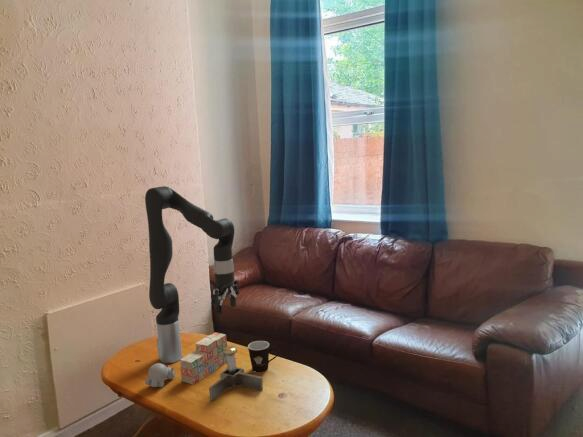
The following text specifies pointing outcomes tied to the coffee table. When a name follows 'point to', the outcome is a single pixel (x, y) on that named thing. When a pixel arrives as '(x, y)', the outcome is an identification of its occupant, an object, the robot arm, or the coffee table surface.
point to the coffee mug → (260, 355)
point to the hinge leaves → (234, 382)
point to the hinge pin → (230, 359)
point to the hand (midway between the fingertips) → (226, 310)
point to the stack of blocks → (204, 358)
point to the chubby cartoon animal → (159, 375)
